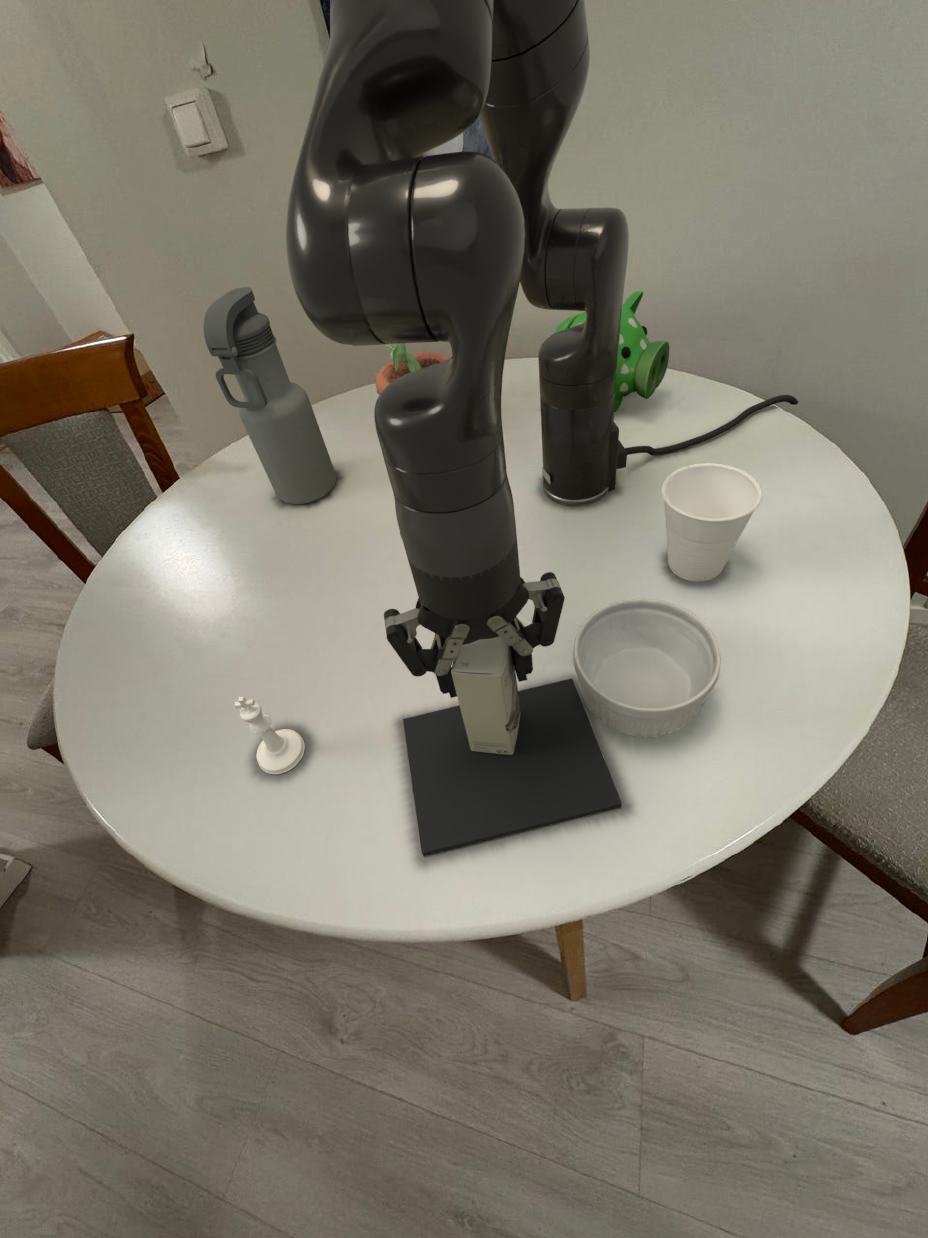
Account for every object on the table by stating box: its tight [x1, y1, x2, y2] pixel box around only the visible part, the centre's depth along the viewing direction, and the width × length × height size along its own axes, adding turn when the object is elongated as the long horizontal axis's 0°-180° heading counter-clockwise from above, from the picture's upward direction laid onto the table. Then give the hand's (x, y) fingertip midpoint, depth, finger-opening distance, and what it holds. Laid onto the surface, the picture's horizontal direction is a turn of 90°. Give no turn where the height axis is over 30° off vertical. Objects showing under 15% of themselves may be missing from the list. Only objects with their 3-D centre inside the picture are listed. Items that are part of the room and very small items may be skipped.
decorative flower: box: [375, 343, 452, 395], centre depth 88 cm, size 15×14×30 cm
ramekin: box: [572, 598, 722, 738], centre depth 56 cm, size 13×13×7 cm
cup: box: [661, 462, 763, 583], centre depth 65 cm, size 10×10×11 cm
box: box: [451, 636, 520, 755], centre depth 53 cm, size 5×4×13 cm
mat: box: [402, 678, 623, 857], centre depth 56 cm, size 18×14×1 cm
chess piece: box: [234, 696, 306, 775], centre depth 56 cm, size 5×5×10 cm
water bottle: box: [203, 286, 337, 505], centre depth 81 cm, size 10×10×28 cm
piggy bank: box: [550, 290, 670, 414], centre depth 91 cm, size 14×18×15 cm
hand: (486, 680), depth 51 cm, fingers closed on box, 5 cm apart
